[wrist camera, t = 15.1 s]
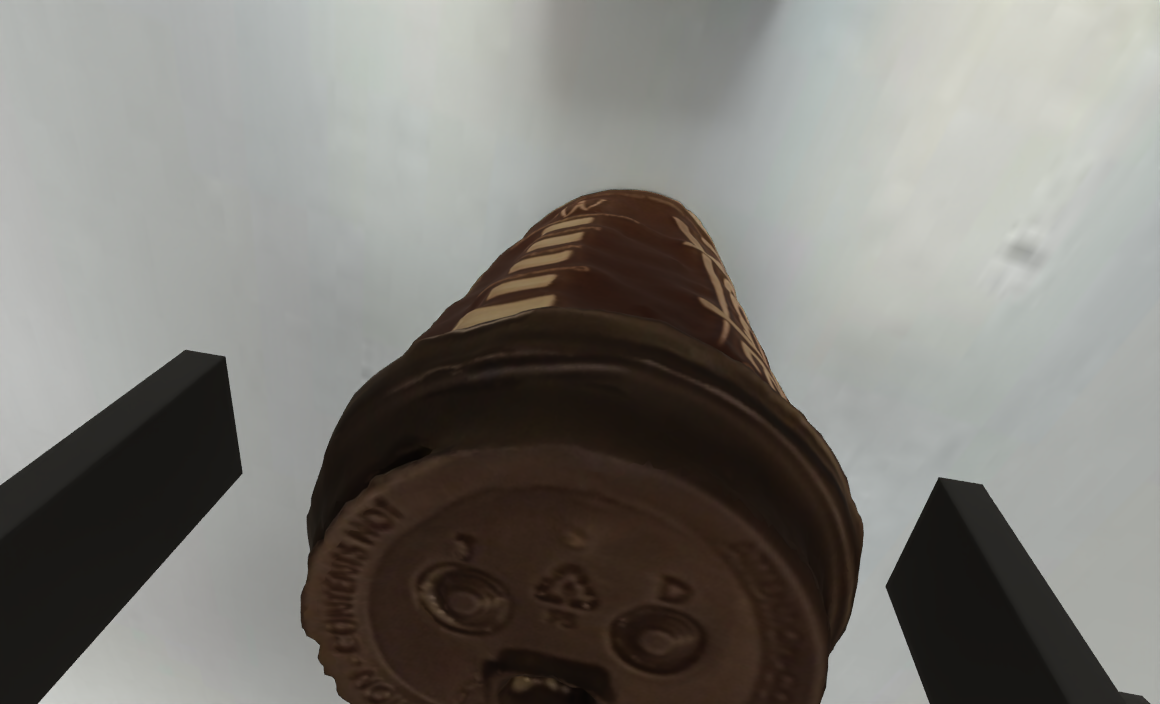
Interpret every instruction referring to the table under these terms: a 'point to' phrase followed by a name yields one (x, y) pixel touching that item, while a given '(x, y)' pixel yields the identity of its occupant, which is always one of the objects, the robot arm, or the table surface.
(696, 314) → the coffee cup
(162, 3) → the table surface
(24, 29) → the table surface
